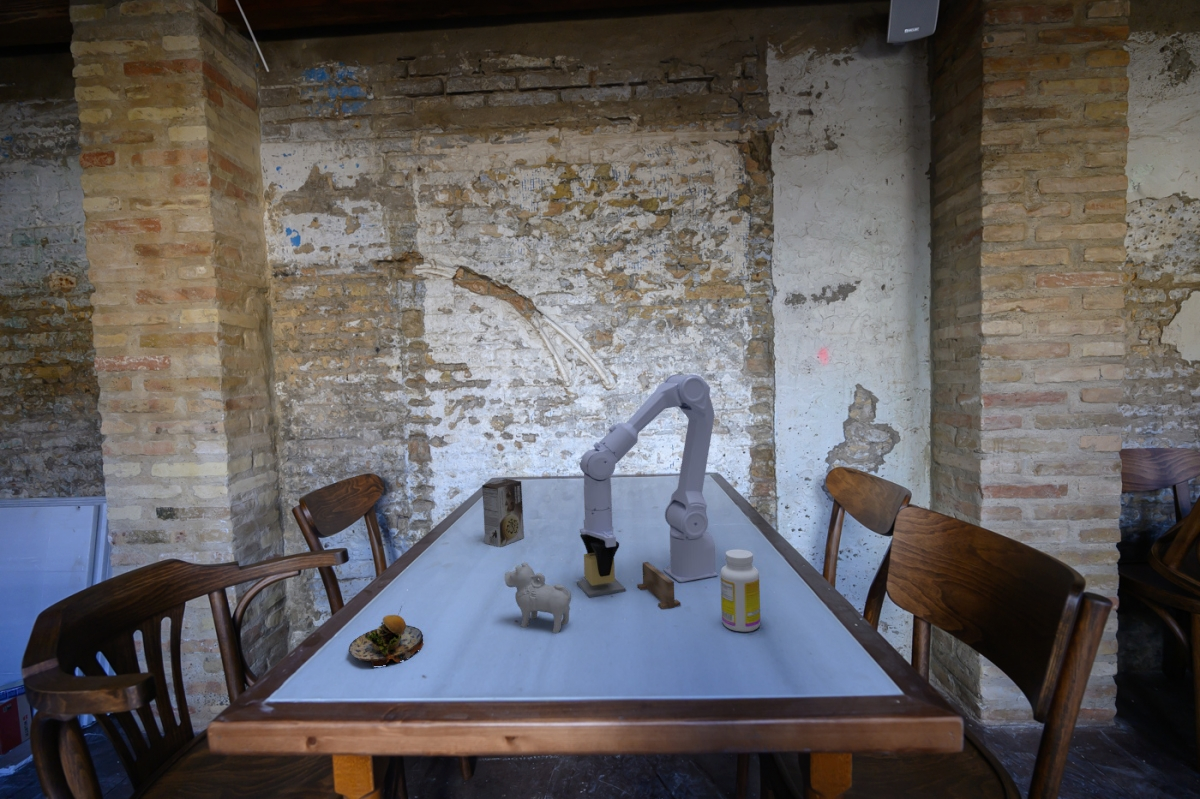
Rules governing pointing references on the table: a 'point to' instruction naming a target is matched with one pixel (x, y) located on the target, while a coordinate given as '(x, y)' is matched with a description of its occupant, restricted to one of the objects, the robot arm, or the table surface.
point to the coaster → (600, 588)
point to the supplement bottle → (740, 592)
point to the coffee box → (503, 512)
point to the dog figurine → (538, 596)
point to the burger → (387, 642)
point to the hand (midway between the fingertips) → (600, 570)
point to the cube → (596, 571)
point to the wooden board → (658, 586)
